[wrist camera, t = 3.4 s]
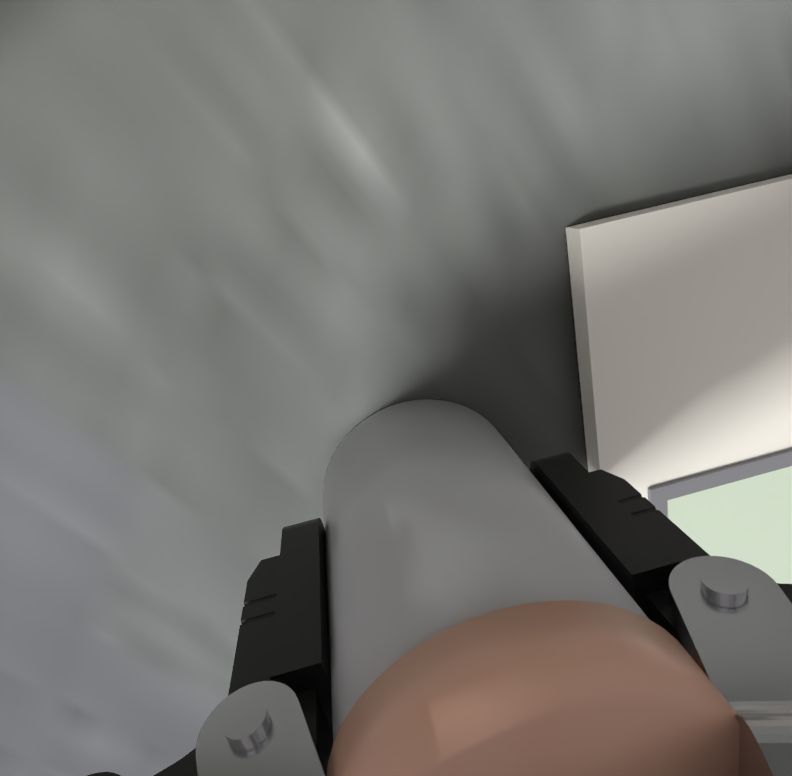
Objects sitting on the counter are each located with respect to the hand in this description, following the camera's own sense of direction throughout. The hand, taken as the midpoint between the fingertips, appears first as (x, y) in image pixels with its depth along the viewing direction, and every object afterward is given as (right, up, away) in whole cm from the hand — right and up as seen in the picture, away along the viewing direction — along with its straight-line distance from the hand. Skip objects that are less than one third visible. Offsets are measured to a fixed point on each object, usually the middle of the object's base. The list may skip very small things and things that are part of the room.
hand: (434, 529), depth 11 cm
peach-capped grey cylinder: (0, +1, +1) cm, 2 cm away
